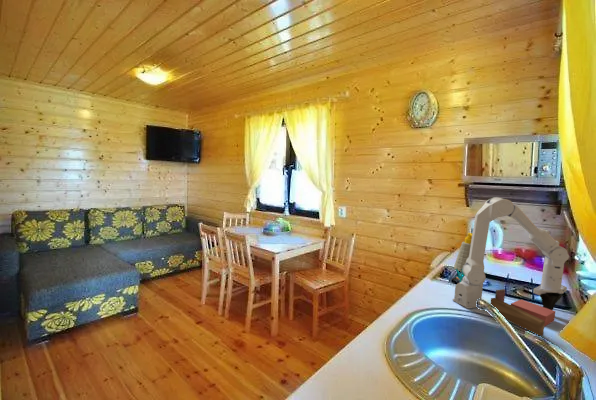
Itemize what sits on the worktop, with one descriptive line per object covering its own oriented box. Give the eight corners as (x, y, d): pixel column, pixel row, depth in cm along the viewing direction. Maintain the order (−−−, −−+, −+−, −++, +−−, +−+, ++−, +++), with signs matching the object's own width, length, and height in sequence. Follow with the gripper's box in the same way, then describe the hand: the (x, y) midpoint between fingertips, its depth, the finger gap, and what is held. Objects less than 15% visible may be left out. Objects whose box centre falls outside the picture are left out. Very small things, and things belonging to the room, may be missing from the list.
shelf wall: (538, 336, 99) (540, 321, 98) (489, 310, 116) (491, 298, 115) (543, 335, 99) (544, 321, 99) (493, 310, 116) (495, 297, 116)
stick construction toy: (461, 282, 138) (456, 266, 142) (448, 286, 143) (443, 270, 147) (477, 286, 143) (472, 270, 147) (464, 289, 148) (459, 274, 152)
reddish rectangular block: (544, 327, 105) (546, 316, 105) (509, 313, 115) (510, 303, 114) (554, 321, 109) (555, 311, 109) (519, 309, 119) (520, 299, 118)
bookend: (495, 310, 116) (497, 290, 115) (493, 309, 117) (496, 290, 116) (503, 309, 117) (505, 289, 116) (501, 308, 118) (503, 289, 117)
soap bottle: (456, 272, 158) (459, 234, 156) (451, 265, 170) (454, 229, 168) (482, 275, 155) (487, 236, 153) (476, 267, 167) (480, 231, 164)
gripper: (549, 281, 107) (545, 318, 108) (577, 278, 111) (572, 313, 113) (529, 274, 114) (525, 308, 115) (556, 271, 118) (552, 305, 119)
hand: (547, 310), depth 114 cm, fingers closed
